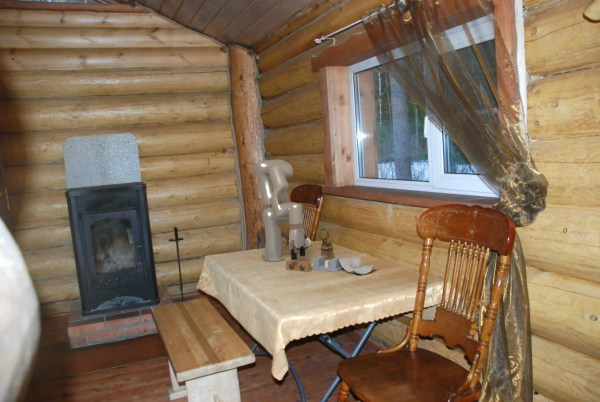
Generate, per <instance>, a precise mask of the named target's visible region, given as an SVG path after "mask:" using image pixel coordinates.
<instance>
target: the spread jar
mask: <svg viewBox="0 0 600 402" xmlns="http://www.w3.org/2000/svg"><path fill="white" fill-rule="evenodd" d="M304 238H305V240H306V243H305V244H306V245H305V249H306V248H309V247H310V246H311V245H312V241H311V239H310V238H309V237H308V236H307V235H306V234H305V233H304ZM299 249H300V248H297V249H296V251H300V250H299Z"/></svg>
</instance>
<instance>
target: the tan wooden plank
mask: <svg viewBox="0 0 600 402" xmlns="http://www.w3.org/2000/svg"><path fill="white" fill-rule="evenodd" d="M311 267H312V261H306V260H305V261H304V260H303V261H302V260H291V259H289V260H286V261H285V270H286V271H289V272H302V273H310V272H312V270H311Z"/></svg>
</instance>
